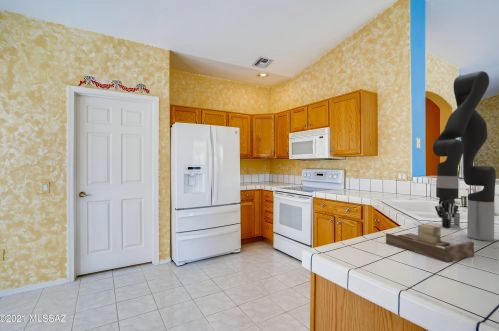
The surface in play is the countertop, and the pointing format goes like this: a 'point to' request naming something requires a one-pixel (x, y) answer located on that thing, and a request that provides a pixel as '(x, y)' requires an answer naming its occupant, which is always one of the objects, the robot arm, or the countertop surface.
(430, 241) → the block
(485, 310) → the countertop surface
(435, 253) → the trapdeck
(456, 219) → the french press
